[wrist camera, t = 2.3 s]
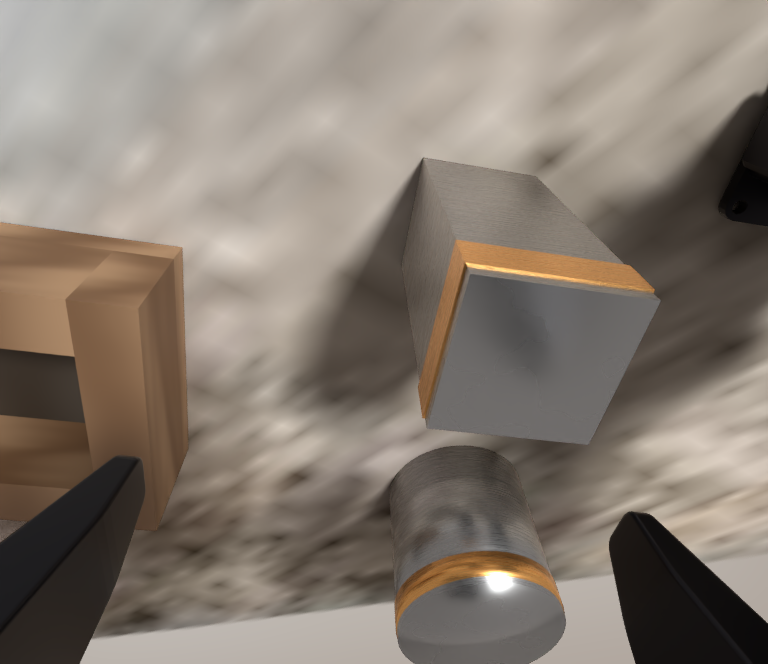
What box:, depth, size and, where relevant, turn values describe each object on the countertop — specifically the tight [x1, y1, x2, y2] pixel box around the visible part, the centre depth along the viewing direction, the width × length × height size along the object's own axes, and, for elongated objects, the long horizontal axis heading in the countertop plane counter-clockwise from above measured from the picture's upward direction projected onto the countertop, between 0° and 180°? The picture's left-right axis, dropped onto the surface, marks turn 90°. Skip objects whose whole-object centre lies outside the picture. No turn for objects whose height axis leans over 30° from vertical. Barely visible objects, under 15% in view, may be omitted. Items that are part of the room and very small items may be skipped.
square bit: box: [401, 158, 661, 445], centre depth 15 cm, size 4×4×9 cm
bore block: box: [0, 223, 188, 531], centre depth 19 cm, size 10×10×4 cm
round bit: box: [389, 446, 566, 664], centre depth 24 cm, size 7×7×7 cm
